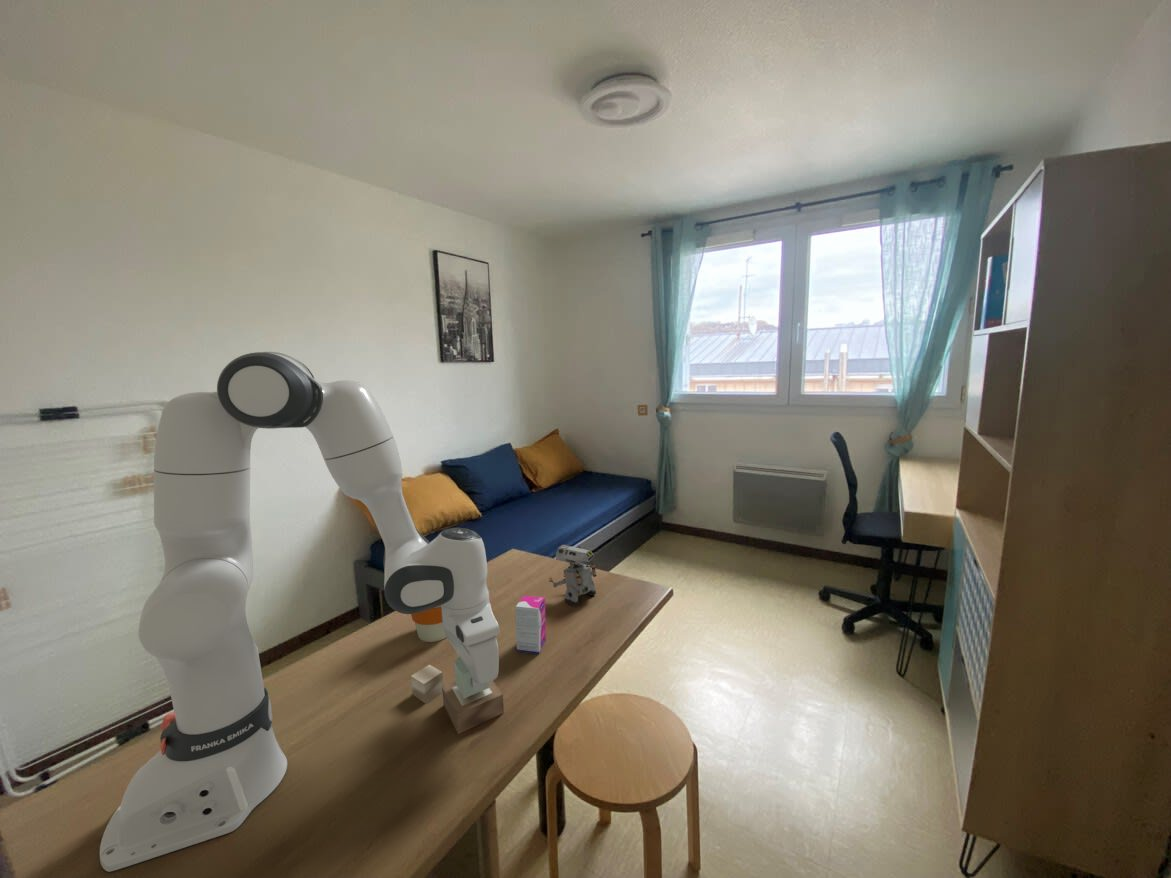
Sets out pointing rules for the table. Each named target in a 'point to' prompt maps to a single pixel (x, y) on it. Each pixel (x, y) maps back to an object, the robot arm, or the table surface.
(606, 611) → the table surface
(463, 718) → the walnut base
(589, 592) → the figurine
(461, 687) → the sage block
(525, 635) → the supplement box
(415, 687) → the block
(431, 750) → the table surface
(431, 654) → the table surface
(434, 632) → the reusable coffee cup
